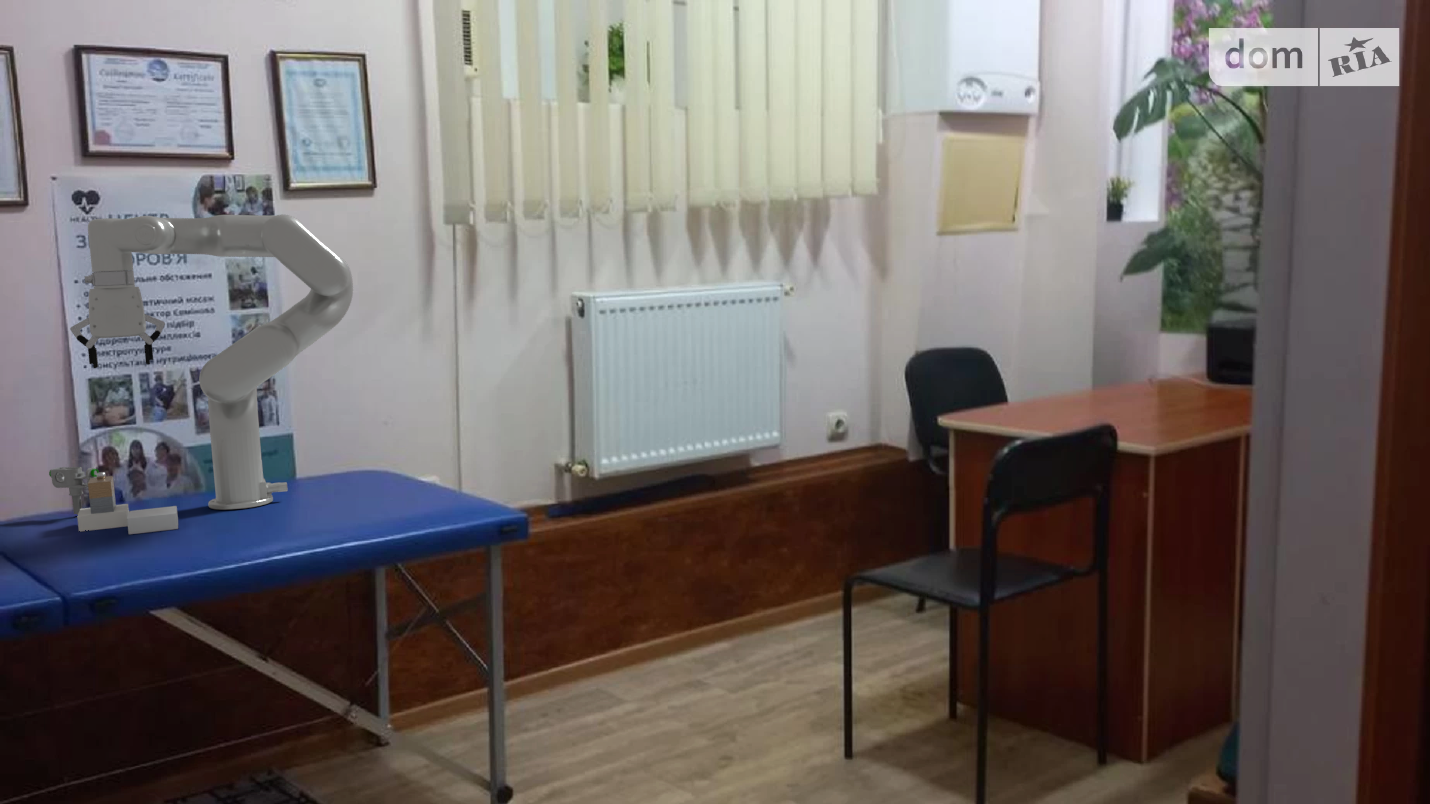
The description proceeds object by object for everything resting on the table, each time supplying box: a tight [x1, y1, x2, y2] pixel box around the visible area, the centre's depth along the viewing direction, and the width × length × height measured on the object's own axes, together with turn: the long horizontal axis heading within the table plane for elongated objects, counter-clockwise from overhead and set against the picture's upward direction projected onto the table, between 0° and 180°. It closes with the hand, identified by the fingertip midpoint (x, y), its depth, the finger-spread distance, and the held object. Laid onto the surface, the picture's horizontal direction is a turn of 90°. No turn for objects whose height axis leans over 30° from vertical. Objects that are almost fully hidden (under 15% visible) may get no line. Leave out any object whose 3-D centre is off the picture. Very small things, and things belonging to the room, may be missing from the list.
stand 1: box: [76, 503, 130, 532], centre depth 251 cm, size 9×9×3 cm
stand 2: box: [127, 505, 179, 535], centre depth 247 cm, size 9×9×3 cm
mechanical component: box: [48, 466, 100, 515], centre depth 261 cm, size 3×10×10 cm, turn 79°
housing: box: [87, 471, 117, 514], centre depth 251 cm, size 7×4×7 cm, turn 22°
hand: (122, 365), depth 259 cm, fingers open, 9 cm apart
